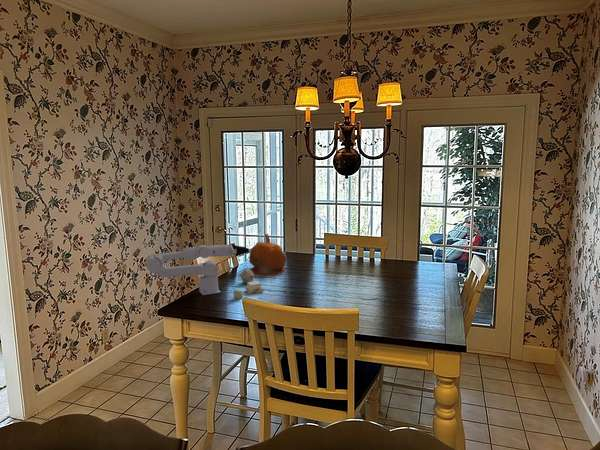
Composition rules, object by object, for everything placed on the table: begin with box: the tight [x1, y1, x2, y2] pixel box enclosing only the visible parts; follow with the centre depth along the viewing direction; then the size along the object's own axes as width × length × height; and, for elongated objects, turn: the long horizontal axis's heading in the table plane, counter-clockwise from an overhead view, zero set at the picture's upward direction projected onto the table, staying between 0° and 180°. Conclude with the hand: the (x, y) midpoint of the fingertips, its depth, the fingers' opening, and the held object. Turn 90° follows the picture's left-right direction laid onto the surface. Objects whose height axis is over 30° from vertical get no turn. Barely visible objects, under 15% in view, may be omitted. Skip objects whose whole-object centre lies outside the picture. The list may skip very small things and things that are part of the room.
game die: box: [238, 268, 256, 284], centre depth 245 cm, size 9×8×10 cm
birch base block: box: [245, 286, 264, 295], centre depth 230 cm, size 7×7×2 cm
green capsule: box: [233, 288, 244, 301], centre depth 219 cm, size 4×4×4 cm
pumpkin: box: [248, 233, 287, 276], centre depth 270 cm, size 22×25×22 cm
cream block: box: [246, 280, 262, 290], centre depth 230 cm, size 6×6×2 cm
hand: (246, 249), depth 234 cm, fingers open, 7 cm apart
